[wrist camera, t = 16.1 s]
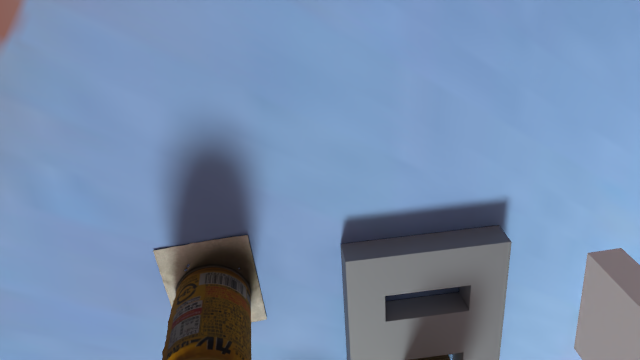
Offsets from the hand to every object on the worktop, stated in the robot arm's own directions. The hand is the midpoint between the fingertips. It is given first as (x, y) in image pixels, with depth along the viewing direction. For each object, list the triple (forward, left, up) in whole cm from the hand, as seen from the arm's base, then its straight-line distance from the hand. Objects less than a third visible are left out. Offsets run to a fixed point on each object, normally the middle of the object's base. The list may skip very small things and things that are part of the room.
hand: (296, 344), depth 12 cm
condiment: (+6, +19, -28) cm, 35 cm away
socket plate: (-11, +26, -28) cm, 40 cm away
